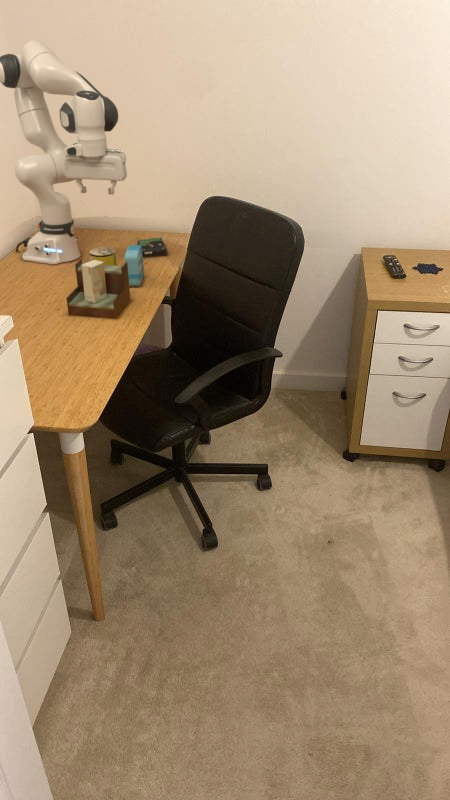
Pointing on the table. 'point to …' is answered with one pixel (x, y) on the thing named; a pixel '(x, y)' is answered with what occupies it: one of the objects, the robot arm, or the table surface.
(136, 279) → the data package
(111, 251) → the beverage can
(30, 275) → the table surface
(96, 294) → the cosmetic box
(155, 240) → the disk drive
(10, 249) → the table surface
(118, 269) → the step shelf
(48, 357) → the table surface
